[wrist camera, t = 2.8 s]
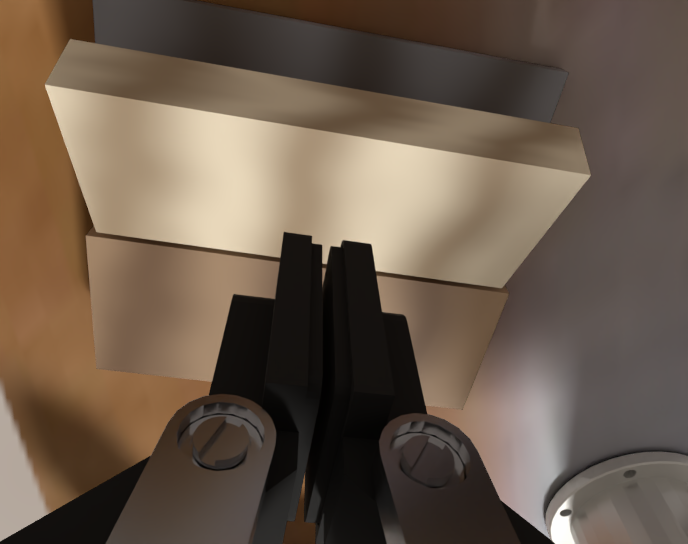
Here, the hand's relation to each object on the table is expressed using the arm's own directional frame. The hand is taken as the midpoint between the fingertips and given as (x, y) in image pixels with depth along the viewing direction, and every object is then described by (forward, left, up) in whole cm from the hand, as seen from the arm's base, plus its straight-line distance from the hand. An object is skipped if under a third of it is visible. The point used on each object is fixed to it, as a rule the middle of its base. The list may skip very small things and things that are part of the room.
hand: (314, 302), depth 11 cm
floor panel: (0, +6, -17) cm, 18 cm away
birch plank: (0, +2, -14) cm, 14 cm away
